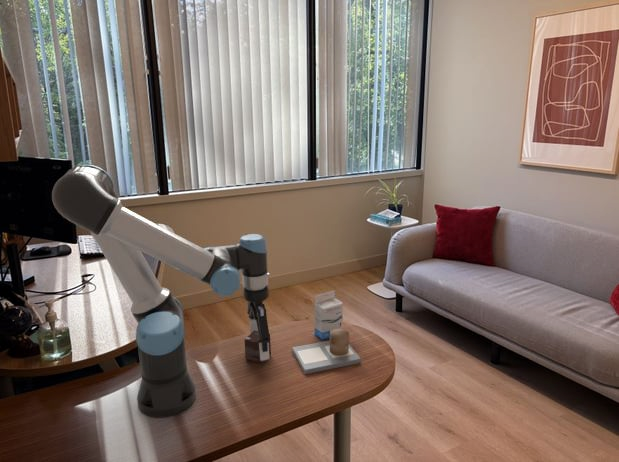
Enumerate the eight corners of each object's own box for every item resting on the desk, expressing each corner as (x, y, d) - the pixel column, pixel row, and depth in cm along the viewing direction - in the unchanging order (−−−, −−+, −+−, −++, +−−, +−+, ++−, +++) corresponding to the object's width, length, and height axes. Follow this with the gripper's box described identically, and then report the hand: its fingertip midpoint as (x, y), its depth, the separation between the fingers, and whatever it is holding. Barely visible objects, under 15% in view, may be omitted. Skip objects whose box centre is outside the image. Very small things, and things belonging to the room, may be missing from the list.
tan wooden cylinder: (326, 347, 148) (327, 330, 146) (344, 344, 150) (344, 327, 148) (333, 357, 142) (334, 339, 140) (351, 353, 144) (352, 336, 142)
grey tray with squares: (305, 374, 136) (305, 369, 136) (292, 351, 148) (292, 347, 148) (360, 362, 142) (360, 358, 142) (343, 341, 154) (344, 337, 153)
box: (271, 354, 147) (270, 334, 144) (261, 364, 141) (261, 343, 139) (255, 350, 149) (254, 329, 147) (244, 359, 144) (243, 338, 142)
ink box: (322, 340, 154) (322, 300, 150) (314, 334, 158) (314, 295, 154) (342, 333, 159) (343, 294, 155) (334, 327, 163) (334, 289, 159)
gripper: (278, 300, 128) (282, 367, 134) (258, 268, 150) (262, 326, 157) (252, 305, 125) (256, 372, 132) (235, 272, 148) (240, 330, 154)
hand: (259, 347), depth 144 cm, fingers open, 13 cm apart
